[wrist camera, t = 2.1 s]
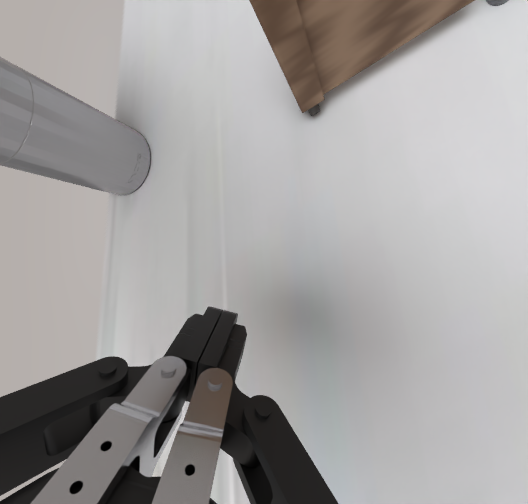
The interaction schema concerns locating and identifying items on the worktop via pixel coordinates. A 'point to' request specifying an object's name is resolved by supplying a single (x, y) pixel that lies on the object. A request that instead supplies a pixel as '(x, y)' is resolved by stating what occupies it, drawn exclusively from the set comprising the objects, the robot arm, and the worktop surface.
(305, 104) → the gate
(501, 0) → the hinge post
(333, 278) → the worktop surface
